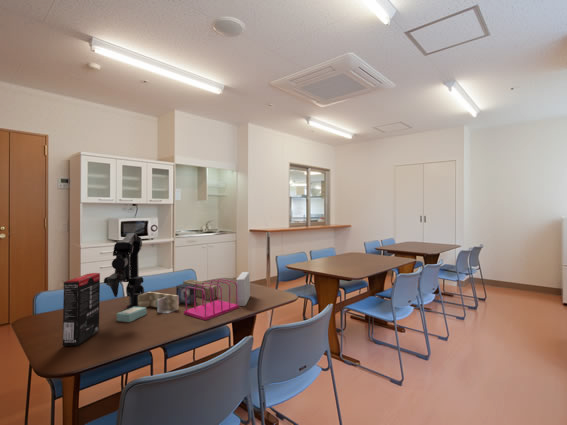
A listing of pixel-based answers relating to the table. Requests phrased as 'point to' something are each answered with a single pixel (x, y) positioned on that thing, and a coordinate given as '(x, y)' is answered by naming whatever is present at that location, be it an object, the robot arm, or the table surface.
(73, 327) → the graphics card box
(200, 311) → the file sorter
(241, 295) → the skincare box
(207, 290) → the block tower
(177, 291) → the small box
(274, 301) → the table surface
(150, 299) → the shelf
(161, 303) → the bookend
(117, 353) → the table surface
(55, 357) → the table surface
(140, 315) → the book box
